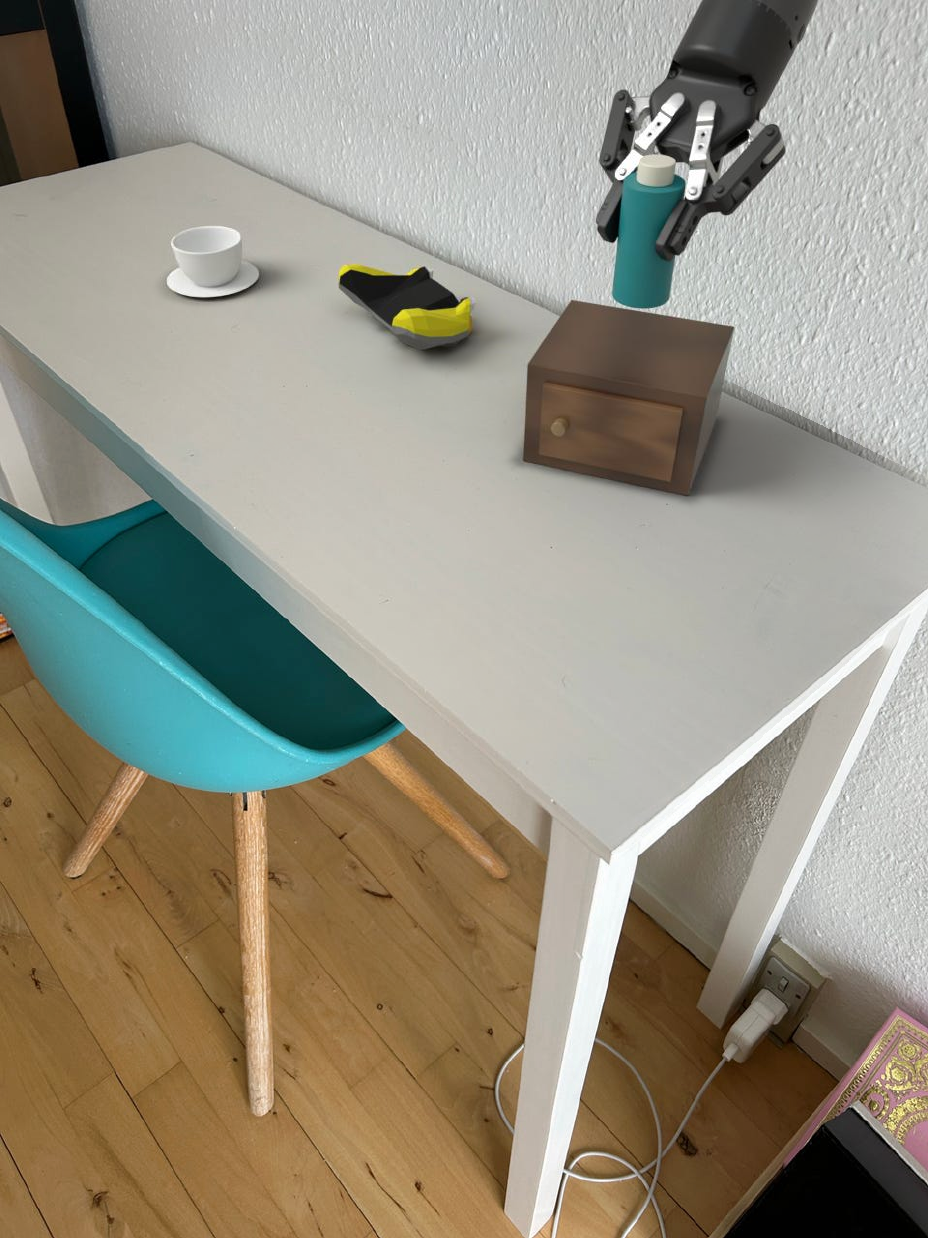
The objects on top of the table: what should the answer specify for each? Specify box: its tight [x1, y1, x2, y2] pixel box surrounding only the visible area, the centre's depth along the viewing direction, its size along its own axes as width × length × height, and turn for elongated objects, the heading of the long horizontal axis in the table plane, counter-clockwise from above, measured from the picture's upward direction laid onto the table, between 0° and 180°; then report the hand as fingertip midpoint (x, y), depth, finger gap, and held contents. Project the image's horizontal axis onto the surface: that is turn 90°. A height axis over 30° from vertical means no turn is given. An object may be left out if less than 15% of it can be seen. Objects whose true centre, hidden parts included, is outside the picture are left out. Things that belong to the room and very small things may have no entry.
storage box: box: [522, 299, 735, 497], centre depth 81 cm, size 14×13×9 cm
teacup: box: [166, 225, 260, 298], centre depth 106 cm, size 10×10×5 cm
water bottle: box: [611, 154, 687, 310], centre depth 72 cm, size 4×4×10 cm
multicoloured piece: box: [337, 263, 476, 350], centre depth 97 cm, size 15×6×10 cm
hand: (633, 245), depth 71 cm, fingers closed on water bottle, 4 cm apart
